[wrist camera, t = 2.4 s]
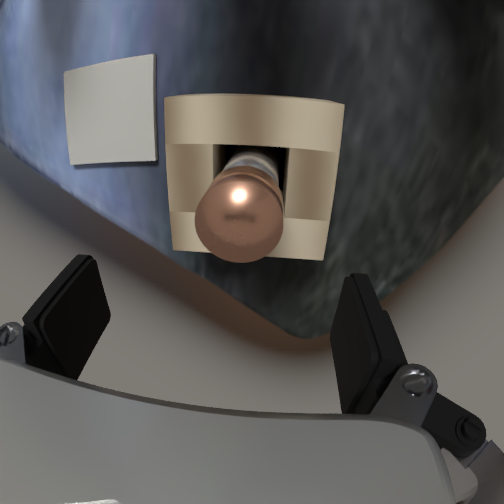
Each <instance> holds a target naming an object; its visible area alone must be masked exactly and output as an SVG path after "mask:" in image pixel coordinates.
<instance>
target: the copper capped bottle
mask: <svg viewBox="0 0 504 504" xmlns="http://www.w3.org/2000/svg"><path fill="white" fill-rule="evenodd" d="M283 223H284V222H283V201H282V194H281V191H280V188H279V182H278V157H277V154H276V151H275V150H274V148H273V147H272V146H255V145H239V146H238V147H237V148H236V150H235V151H234V153H233V155H232V156H231V158H230V159H229V161H228V163H227V164H226V166H225V168H224V169H223V171H222V172H221V173H220V174H219V175H217V176H216V177H215V178H214V180H213V181H212V183H211V184H210V186H209V187H208V189H207V191H206V192H205V194H204V195H203V197H202V199H201V200H200V202H199V204H198V206H197V209H196V212H195V229H196V233H197V235H198V237H199V239H200V241H201V242H202V244H203V245H204V246H205V247H206V248H207V249H208V250H209V251H210V252H211V253H212V254H214V255H215V256H217V257H219V258H221V259H224V260H226V261H230V262H236V263H246V262H252V261H256V260H259V259H261V258H263V257H265V256H266V255H268V254H269V253H270V252H271V251H272V250H273V249H274V248H275V247H276V246H277V244H278V243H279V241H280V239H281V236H282V233H283Z"/></svg>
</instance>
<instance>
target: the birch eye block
mask: <svg viewBox="0 0 504 504" xmlns="http://www.w3.org/2000/svg"><path fill="white" fill-rule="evenodd" d="M164 107H165V144H166V165H167V182H168V197H169V210H170V221H171V232H172V242H173V250H181V251H195V252H210V251H209V250H208V249H207V248H206V247H205V246H204V245H203V244H202V242H201V241H200V239H199V237H198V235H197V233H196V229H195V212H196V209H197V206H198V204H199V202H200V200H201V199H202V197H203V195H204V194H205V192H206V191H207V189H208V187H209V186H210V184H211V183H212V181H213V180H214V178H215V177H216V176H217V175H219V174H220V173H221V172H222V171H223V169H224V168H225V166H226V144H231V145H255V146H272V147H286V152H285V165H284V179H283V191H282V190H280V191H281V194H282V201H283V222H284V223H283V233H282V236H281V239H280V241H279V243H278V244H277V246H276V247H275V248H274V249H273V250H272V251H271V252H270V253H269V254H268V255H266V256H267V257H281V258H296V259H310V260H323V257H324V252H325V246H326V240H327V235H328V229H329V223H330V216H331V210H332V203H333V197H334V190H335V183H336V176H337V168H338V160H339V152H340V143H341V135H342V125H343V115H344V104H340V103H337V102H333V101H329V100H321V99H312V98H302V97H291V96H278V95H260V94H186V95H178V96H171V97H164ZM210 253H211V252H210Z"/></svg>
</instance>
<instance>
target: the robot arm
mask: <svg viewBox="0 0 504 504" xmlns="http://www.w3.org/2000/svg"><path fill="white" fill-rule="evenodd" d="M110 316H111V314H110V310H109V306H108V303H107V299H106V296H105V292H104V289H103V285H102V281H101V278H100V274H99V270H98V266H97V262H96V260H94V259H93V257H92V256H90V255H80V254H79V255H77V256H76V257H75V258H74V259H73V260H72V261H71V262H70V263H69V264H68V265H67V266H66V267H65V268H64V270H63V271H62V272H61V273H60V274H59V275H58V276H57V278H56V279H55V280H54V281H53V282H52V283H51V284H50V285H49V286H48V288H47V289H46V290H45V291H44V292H43V293H42V294H41V296H40V297H39V298H38V299H37V301H36V302H35V303H34V304H33V305H32V306H31V308H30V309H29V310H28V312H27V313H26V314H25V315H24V316H23V318H22V319H23V322H24V324H25V325H24V326H23V327H22V326H21V325H20V324H19V323H17V322H9V323H6V324H4V325H2V326H1V327H0V504H504V453H503V452H502V451H501V450H500V448H499V447H498V446H497V445H496V444H495V443H494V442H493V441H492V440H490V441H489V442H488V441H487V440H486V439H485V438H486V429H485V426H484V424H483V422H482V421H481V420H480V419H479V418H478V417H477V416H476V415H474V414H472V413H470V412H469V411H467V410H465V409H464V408H462V407H460V406H459V405H457V404H455V403H454V402H452V401H450V400H449V399H447V398H446V397H444V396H442V395H441V394H439V393H437V387H438V385H437V380H436V378H435V376H434V374H433V373H432V372H431V371H430V370H429V369H427V368H426V367H424V366H422V365H419V364H408V363H407V360H406V357H405V355H404V352H403V349H402V347H401V344H400V342H399V339H398V337H397V334H396V331H395V329H394V326H393V324H392V321H391V319H390V317H389V314H388V313H387V311H385V310H382V308H381V306H380V303H379V300H378V298H377V296H376V293H375V291H374V289H373V286H372V284H371V282H370V279H369V277H368V275H367V274H360V273H351V274H350V277H345V279H344V283H343V287H342V291H341V295H340V299H339V303H338V307H337V311H336V314H335V318H334V322H333V325H332V329H331V333H330V342H331V347H332V353H333V359H334V365H335V371H336V377H337V384H338V390H339V397H340V404H341V410H342V414H305V413H276V412H257V411H243V410H232V409H222V408H213V407H205V406H197V405H189V404H183V403H177V402H170V401H164V400H159V399H153V398H148V397H143V396H138V395H134V394H129V393H124V392H120V391H115V390H112V389H107V388H103V387H99V386H96V385H91V384H88V383H84V382H81V381H78V380H77V379H78V377H79V376H80V374H81V372H82V370H83V368H84V366H85V364H86V362H87V360H88V359H89V357H90V355H91V353H92V351H93V349H94V347H95V346H96V344H97V342H98V340H99V338H100V336H101V335H102V333H103V331H104V330H105V328H106V326H107V324H108V323H109V321H110Z"/></svg>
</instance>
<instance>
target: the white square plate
mask: <svg viewBox="0 0 504 504" xmlns="http://www.w3.org/2000/svg"><path fill="white" fill-rule="evenodd" d="M64 101H65V118H66V130H67V140H68V150H69V158H70V165H77V164H91V163H108V162H130V161H156V160H158V151H157V128H156V54H150V55H142V56H136V57H129V58H124V59H118V60H113V61H108V62H103V63H98V64H94V65H89V66H85V67H81V68H77V69H73V70H69V71H66V72H64Z"/></svg>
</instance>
